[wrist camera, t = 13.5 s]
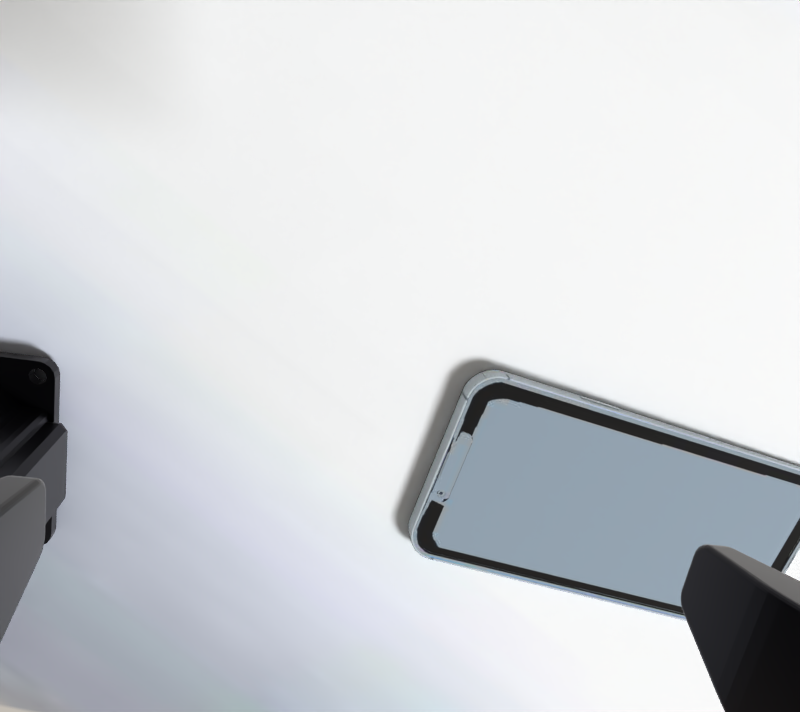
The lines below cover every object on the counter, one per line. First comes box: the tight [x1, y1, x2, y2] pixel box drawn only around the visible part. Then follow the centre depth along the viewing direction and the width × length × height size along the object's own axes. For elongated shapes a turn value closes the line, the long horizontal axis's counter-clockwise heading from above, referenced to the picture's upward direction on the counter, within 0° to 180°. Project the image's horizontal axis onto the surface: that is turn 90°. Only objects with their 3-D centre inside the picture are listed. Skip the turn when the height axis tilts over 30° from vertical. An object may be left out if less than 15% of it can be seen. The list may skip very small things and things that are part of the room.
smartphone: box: [408, 370, 800, 621], centre depth 25 cm, size 7×1×15 cm
